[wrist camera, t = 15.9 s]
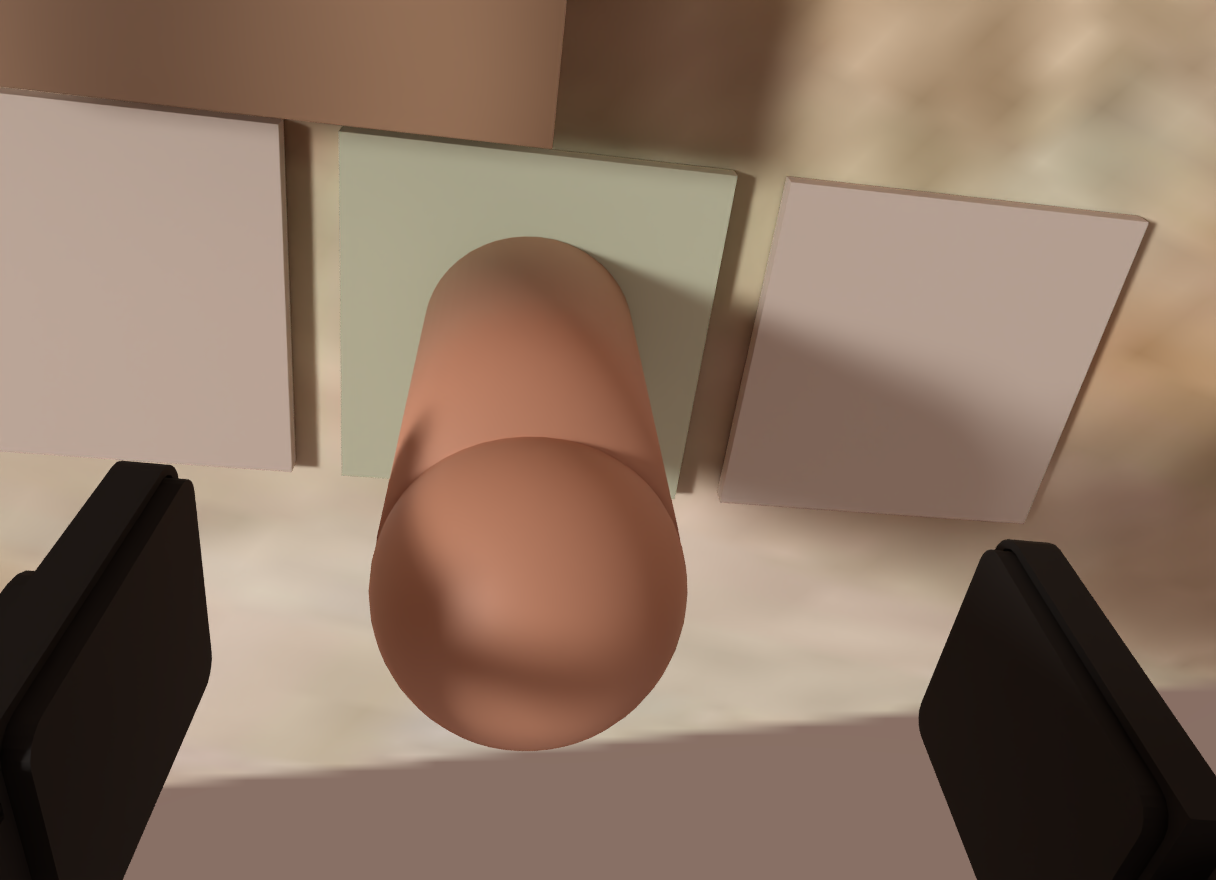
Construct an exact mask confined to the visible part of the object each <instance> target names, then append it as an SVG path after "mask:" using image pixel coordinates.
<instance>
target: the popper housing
mask: <svg viewBox="0 0 1216 880" xmlns="http://www.w3.org/2000/svg"><path fill="white" fill-rule="evenodd" d="M566 5H567V0H0V87H9V88H17V89H26V90H35V91H44V92H53V93H62V94H70V95H79V96H88V97H97V98H106V99H115V100H123V101H132V102H141V103H150V104H159V105H168V106H177V107H185V108H194V109H203V110H212V111H221V112H230V113H238V114H247V115H256V116H265V117H274V118H283V119H291V120H300V121H309V122H318V123H327V124H336V125H345V126H353V127H362V128H371V129H380V130H389V131H398V132H406V133H415V134H424V135H433V136H442V137H451V138H459V139H468V140H477V141H486V142H495V143H504V144H513V145H521V146H530V147H539V148H548V149H552V147H553V137H554V127H555V116H556V106H557V96H558V86H559V76H560V66H561V56H562V46H563V35H564V25H565V15H566Z"/></svg>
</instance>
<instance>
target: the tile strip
mask: <svg viewBox="0 0 1216 880" xmlns="http://www.w3.org/2000/svg"><path fill="white" fill-rule="evenodd" d="M737 177H738V176H737V174H736V173H735V171H734V170H729V169H720V168H711V167H702V166H693V165H685V164H676V163H667V162H658V161H649V160H640V159H631V158H623V157H614V156H605V155H596V154H587V153H578V152H570V151H561V150H552V149H543V148H534V147H525V146H516V145H508V144H499V143H490V142H481V141H472V140H463V139H454V138H446V137H437V136H428V135H419V134H410V133H401V132H393V131H384V130H375V129H366V128H357V127H348V126H342V127H341V129H340V130H339V232H340V345H341V458H342V476H355V477H369V478H383V479H390V475H391V470H392V466H393V461H394V457H395V452H396V447H397V443H398V438H399V434H400V429H401V425H402V420H403V415H404V411H405V406H406V402H407V397H408V392H409V388H410V383H411V379H412V374H413V369H414V365H415V360H416V356H417V351H418V346H419V342H420V337H421V333H422V328H423V323H424V319H425V314H426V310H427V307H428V303H429V300H430V298H431V296H432V293H433V291H434V289H435V287H436V286H437V284H438V283H439V281H440V279H441V278H442V277H443V276H444V274H445V273H446V272H447V271H448V270H449V268H451V267H452V266H453V265H454V264H455V263H456V262H457V261H458V260H459V259H461V258H462V257H464V256H465V255H467V254H468V253H469V252H471V251H473V250H475V249H477V248H479V247H481V246H483V245H486V244H488V243H491V242H494V241H497V240H502V239H506V238H512V237H524V236H527V237H542V238H548V239H554V240H557V241H560V242H564V243H567V244H569V245H572V246H574V247H576V248H578V249H580V250H582V251H584V252H585V253H587V254H588V255H590V256H592V257H593V258H594V259H595V260H597V261H598V262H599V263H600V264H602V265H603V266H604V267H605V268H606V269H607V271H608V272H609V273H610V274H611V275H612V276H613V278H614V279H615V280H616V282H617V283H618V285H619V286H620V288H621V290H622V292H623V294H624V296H625V298H626V301H627V304H628V306H629V309H630V314H631V318H632V323H633V328H634V332H635V337H636V341H637V346H638V350H639V355H640V359H641V364H642V368H643V373H644V377H645V382H646V386H647V391H648V396H649V400H650V405H651V409H652V414H653V418H654V423H655V427H656V432H657V436H658V441H659V445H660V450H661V454H662V459H663V463H664V468H665V473H666V477H667V482H668V486H669V491H670V495H671V499H675V495H676V490H677V485H678V480H679V475H680V469H681V464H682V459H683V454H684V449H685V444H686V439H687V434H688V428H689V423H690V418H691V413H692V408H693V403H694V398H695V392H696V387H697V382H698V377H699V372H700V367H701V362H702V357H703V351H704V346H705V341H706V336H707V331H708V326H709V321H710V316H711V310H712V305H713V300H714V295H715V290H716V285H717V280H718V274H719V269H720V264H721V259H722V254H723V249H724V244H725V239H726V233H727V228H728V223H729V218H730V213H731V208H732V203H733V198H734V192H735V187H736V182H737ZM1148 224H1149V222H1148V221H1146V220H1144V219H1143V218H1141V217H1139V216H1136V215H1127V214H1118V213H1109V212H1100V211H1091V210H1083V209H1074V208H1065V207H1056V206H1047V205H1038V204H1030V203H1021V202H1012V201H1003V200H994V199H985V198H976V197H968V196H959V195H950V194H941V193H932V192H923V191H915V190H906V189H897V188H888V187H879V186H870V185H861V184H853V183H844V182H835V181H826V180H817V179H808V178H800V177H791V176H787V177H786V181H785V186H784V190H783V195H782V199H781V204H780V209H779V213H778V218H777V222H776V227H775V231H774V236H773V240H772V245H771V249H770V254H769V259H768V263H767V268H766V272H765V277H764V281H763V286H762V290H761V295H760V299H759V304H758V309H757V313H756V318H755V322H754V327H753V331H752V336H751V340H750V345H749V349H748V354H747V359H746V363H745V368H744V372H743V377H742V381H741V386H740V390H739V395H738V399H737V404H736V409H735V413H734V418H733V422H732V427H731V431H730V436H729V440H728V445H727V449H726V454H725V459H724V463H723V468H722V472H721V477H720V481H719V486H718V490H717V493H718V497H719V500H720V502H723V503H737V504H751V505H765V506H779V507H793V508H807V509H821V510H836V511H850V512H864V513H878V514H892V515H906V516H920V517H935V518H949V519H963V520H977V521H991V522H1005V523H1019V524H1024V523H1025V520H1026V518H1027V515H1028V513H1029V511H1030V508H1031V506H1032V503H1033V501H1034V498H1035V496H1036V494H1037V491H1038V489H1039V486H1040V484H1041V482H1042V479H1043V477H1044V474H1045V472H1046V470H1047V467H1048V465H1049V462H1050V460H1051V457H1052V455H1053V453H1054V450H1055V448H1056V445H1057V443H1058V441H1059V438H1060V436H1061V433H1062V431H1063V429H1064V426H1065V424H1066V421H1067V419H1068V417H1069V414H1070V412H1071V409H1072V407H1073V404H1074V402H1075V400H1076V397H1077V395H1078V392H1079V390H1080V388H1081V385H1082V383H1083V380H1084V378H1085V376H1086V373H1087V371H1088V368H1089V366H1090V364H1091V361H1092V359H1093V356H1094V354H1095V351H1096V349H1097V347H1098V344H1099V342H1100V339H1101V337H1102V335H1103V332H1104V330H1105V327H1106V325H1107V323H1108V320H1109V318H1110V315H1111V313H1112V310H1113V308H1114V306H1115V303H1116V301H1117V298H1118V296H1119V294H1120V291H1121V289H1122V286H1123V284H1124V282H1125V279H1126V277H1127V274H1128V272H1129V270H1130V267H1131V265H1132V262H1133V260H1134V257H1135V255H1136V253H1137V250H1138V248H1139V245H1140V243H1141V241H1142V238H1143V236H1144V233H1145V231H1146V229H1147V226H1148ZM0 451H2V452H16V453H30V454H44V455H58V456H72V457H87V458H101V459H115V460H129V461H143V462H157V463H171V464H186V465H200V466H214V467H228V468H242V469H256V470H270V471H284V472H292V470H293V468H294V465H295V463H296V453H295V425H294V398H293V370H292V342H291V315H290V287H289V259H288V232H287V204H286V177H285V149H284V121H283V119H278V118H269V117H260V116H251V115H242V114H233V113H224V112H216V111H207V110H198V109H189V108H180V107H171V106H163V105H154V104H145V103H136V102H127V101H118V100H109V99H101V98H92V97H83V96H74V95H65V94H56V93H48V92H39V91H30V90H21V89H12V88H3V87H0Z"/></svg>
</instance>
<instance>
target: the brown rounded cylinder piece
mask: <svg viewBox="0 0 1216 880" xmlns="http://www.w3.org/2000/svg"><path fill="white" fill-rule="evenodd" d="M369 602H370V614H371V622H372V626H373V630H374V634H375V638H376V641H377V644H378V647H379V650H380V653H381V655H382V657H383V659H384V662H385V664H386V666H387V668H388V669H389V671H390V673H391V674H392V676H393V678H394V679H395V681H396V682H397V684H398V686H399V687H400V689H401V690H402V691H403V692H404V693H405V694H406V695H407V697H408V698H409V699H410V700H411V701H412V702H413V703H414V704H415V705H416V706H417V707H418V709H420V710H421V711H422V712H423V713H424V714H425V715H426V716H428V717H429V718H430V719H431V720H433V721H434V722H436V723H437V724H439V725H440V726H442V727H443V728H445V729H447V730H448V731H450V732H452V733H454V734H456V735H458V736H460V737H462V738H464V739H467V740H469V741H472V742H474V743H477V744H481V745H484V746H488V747H492V748H498V749H503V750H514V751H538V750H548V749H554V748H559V747H565V746H568V745H572V744H575V743H578V742H581V741H584V740H586V739H589V738H591V737H593V736H595V735H597V734H599V733H601V732H603V731H605V730H606V729H608V728H609V727H611V726H612V725H614V724H615V723H617V722H618V721H620V720H621V719H623V718H624V717H626V716H627V715H628V714H629V713H630V712H631V711H633V710H634V709H635V708H636V707H637V706H638V705H639V704H640V703H641V702H642V700H643V699H644V698H645V697H646V696H647V695H648V694H649V693H650V692H651V690H652V689H653V688H654V687H655V685H656V684H657V682H658V681H659V680H660V678H661V677H662V675H663V673H664V672H665V670H666V668H667V666H668V664H669V662H670V660H671V658H672V656H673V654H674V652H675V650H676V647H677V644H678V640H679V637H680V634H681V630H682V627H683V624H684V618H685V611H686V602H687V574H686V565H685V560H684V555H683V550H682V546H681V543H680V537H679V532H678V527H677V522H676V518H675V513H674V509H673V504H672V500H671V495H670V491H669V486H668V482H667V477H666V473H665V468H664V463H663V459H662V454H661V450H660V445H659V441H658V436H657V432H656V427H655V423H654V418H653V414H652V409H651V405H650V400H649V396H648V391H647V386H646V382H645V377H644V373H643V368H642V364H641V359H640V355H639V350H638V346H637V341H636V337H635V332H634V328H633V323H632V318H631V314H630V309H629V306H628V304H627V301H626V298H625V296H624V294H623V292H622V290H621V288H620V286H619V285H618V283H617V282H616V280H615V279H614V278H613V276H612V275H611V274H610V273H609V272H608V271H607V269H606V268H605V267H604V266H603V265H602V264H600V263H599V262H598V261H597V260H595V259H594V258H593V257H592V256H590V255H588V254H587V253H585V252H584V251H582V250H580V249H578V248H576V247H574V246H572V245H569V244H567V243H564V242H560V241H557V240H554V239H548V238H542V237H527V236H524V237H512V238H506V239H502V240H497V241H494V242H491V243H488V244H486V245H483V246H481V247H479V248H477V249H475V250H473V251H471V252H469V253H468V254H467V255H465V256H464V257H462V258H461V259H459V260H458V261H457V262H456V263H455V264H454V265H453V266H452V267H451V268H449V270H448V271H447V272H446V273H445V274H444V276H443V277H442V278H441V279H440V281H439V283H438V284H437V286H436V287H435V289H434V291H433V293H432V296H431V298H430V300H429V303H428V307H427V310H426V314H425V319H424V323H423V328H422V333H421V337H420V342H419V346H418V351H417V356H416V360H415V365H414V369H413V374H412V379H411V383H410V388H409V392H408V397H407V402H406V406H405V411H404V415H403V420H402V425H401V429H400V434H399V438H398V443H397V447H396V452H395V457H394V461H393V466H392V470H391V475H390V480H389V484H388V489H387V493H386V498H385V503H384V507H383V512H382V516H381V521H380V526H379V530H378V535H377V542H376V548H375V551H374V555H373V558H372V564H371V573H370V583H369Z"/></svg>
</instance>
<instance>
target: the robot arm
mask: <svg viewBox="0 0 1216 880" xmlns="http://www.w3.org/2000/svg"><path fill="white" fill-rule="evenodd" d="M211 662H212V652H211V643H210V633H209V624H208V614H207V605H206V595H205V586H204V577H203V567H202V558H201V548H200V539H199V530H198V520H197V511H196V501H195V492H194V487H193V484H192V482H191V481H190V480H189V479H178V474H177V471H176V469H175V467H173V466H172V465H164V464H153V463H141V462H130V461H119V462H116V463H115V464H114V465H113V466H112V468H111V469H110V470H109V472H108V473H107V474H106V476H105V477H104V478H103V480H102V481H101V482H100V484H99V485H98V487H97V488H96V489H95V491H94V492H93V493H92V495H91V496H90V497H89V499H88V500H87V501H86V503H85V504H84V506H83V507H82V508H81V510H80V511H79V512H78V514H77V515H76V516H75V518H74V519H73V520H72V522H71V523H70V525H69V526H68V527H67V529H66V530H65V531H64V533H63V534H62V535H61V537H60V538H59V539H58V541H57V542H56V544H55V545H54V546H53V548H52V549H51V550H50V552H49V553H48V554H47V556H46V557H45V558H44V560H43V561H42V563H41V564H40V565H39V567H38V568H37V569H36V571H24V572H22V573H19V574H17V575H16V576H15V577H14V578H13V579H12V580H11V581H10V582H9V583H8V584H7V585H6V587H5V588H4V589H3V591H2V592H1V593H0V880H123V878H124V875H125V873H126V870H127V868H128V866H129V864H130V862H131V859H132V857H133V855H134V852H135V850H136V848H137V845H138V843H139V841H140V838H141V836H142V834H143V831H144V829H145V827H146V825H147V822H148V820H149V818H150V815H151V813H152V811H153V809H154V806H155V803H156V802H157V799H158V797H159V795H160V792H161V790H162V788H163V785H164V783H165V781H166V779H167V776H168V774H169V772H170V769H171V767H172V765H173V762H174V760H175V758H176V755H177V753H178V751H179V749H180V746H181V744H182V742H183V739H184V737H185V735H186V732H187V730H188V728H189V725H190V723H191V721H192V719H193V716H194V714H195V712H196V709H197V707H198V705H199V702H200V700H201V698H202V696H203V693H204V691H205V689H206V686H207V683H208V680H209V676H210V670H211ZM919 729H920V734H921V737H922V739H923V742H924V745H925V747H926V750H927V753H928V755H929V758H930V760H931V763H932V765H933V768H934V770H935V773H936V776H937V778H938V780H939V783H940V786H941V788H942V791H943V793H944V796H945V798H946V801H947V804H948V806H949V809H950V811H951V814H952V816H953V819H954V822H955V824H956V827H957V829H958V832H959V835H960V837H961V840H962V842H963V845H964V847H965V850H966V853H967V855H968V858H969V860H970V863H971V865H972V868H973V871H974V873H975V876H976V878H977V880H1216V776H1215V774H1214V773H1213V771H1212V770H1211V768H1210V767H1209V765H1208V764H1207V763H1206V761H1205V760H1204V758H1203V757H1202V756H1201V754H1200V752H1199V751H1198V749H1197V748H1196V747H1195V745H1194V744H1193V742H1192V741H1191V739H1190V738H1189V736H1188V735H1187V733H1186V732H1185V731H1184V729H1183V728H1182V726H1181V725H1180V723H1179V722H1178V720H1177V719H1176V718H1175V716H1174V715H1173V713H1172V712H1171V710H1170V709H1169V707H1168V706H1167V704H1166V703H1165V702H1164V700H1163V699H1162V697H1161V696H1160V694H1159V693H1158V691H1157V690H1156V688H1155V687H1154V686H1153V684H1152V683H1151V681H1150V680H1149V678H1148V677H1147V675H1146V674H1145V672H1144V671H1143V670H1142V668H1141V667H1140V665H1139V664H1138V662H1137V661H1136V659H1135V658H1134V657H1133V655H1132V654H1131V652H1130V651H1129V649H1128V648H1127V646H1126V645H1125V643H1124V642H1123V641H1122V639H1121V638H1120V636H1119V635H1118V633H1117V632H1116V630H1115V629H1114V627H1113V626H1112V625H1111V623H1110V622H1109V620H1108V619H1107V617H1106V616H1105V614H1104V613H1103V611H1102V610H1101V609H1100V607H1099V606H1098V604H1097V603H1096V601H1095V600H1094V598H1093V597H1092V596H1091V594H1090V593H1089V591H1088V590H1087V588H1086V587H1085V585H1084V584H1083V582H1082V581H1081V580H1080V578H1079V577H1078V575H1077V574H1076V572H1075V571H1074V569H1073V568H1072V566H1071V565H1070V564H1069V562H1068V561H1067V559H1066V558H1065V556H1064V555H1063V553H1062V552H1061V550H1060V549H1059V548H1058V547H1057V546H1056V545H1054V544H1051V543H1044V542H1033V541H1022V540H1010V539H1007V540H1003V541H1002V542H1001V543H999V544H998V545H997V547H996V549H995V550H987V551H986V552H985V553H984V554H983V555H982V557H981V559H980V561H979V564H978V566H977V568H976V571H975V573H974V576H973V578H972V581H971V583H970V586H969V588H968V590H967V593H966V595H965V598H964V600H963V603H962V605H961V607H960V610H959V612H958V615H957V617H956V620H955V622H954V625H953V627H952V629H951V632H950V634H949V637H948V639H947V642H946V644H945V647H944V649H943V651H942V654H941V656H940V659H939V661H938V664H937V666H936V668H935V671H934V673H933V676H932V678H931V681H930V683H929V686H928V688H927V690H926V693H925V695H924V698H923V700H922V703H921V706H920V710H919Z"/></svg>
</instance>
